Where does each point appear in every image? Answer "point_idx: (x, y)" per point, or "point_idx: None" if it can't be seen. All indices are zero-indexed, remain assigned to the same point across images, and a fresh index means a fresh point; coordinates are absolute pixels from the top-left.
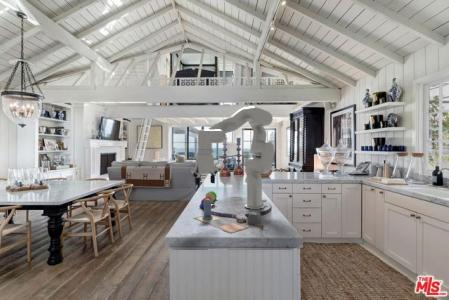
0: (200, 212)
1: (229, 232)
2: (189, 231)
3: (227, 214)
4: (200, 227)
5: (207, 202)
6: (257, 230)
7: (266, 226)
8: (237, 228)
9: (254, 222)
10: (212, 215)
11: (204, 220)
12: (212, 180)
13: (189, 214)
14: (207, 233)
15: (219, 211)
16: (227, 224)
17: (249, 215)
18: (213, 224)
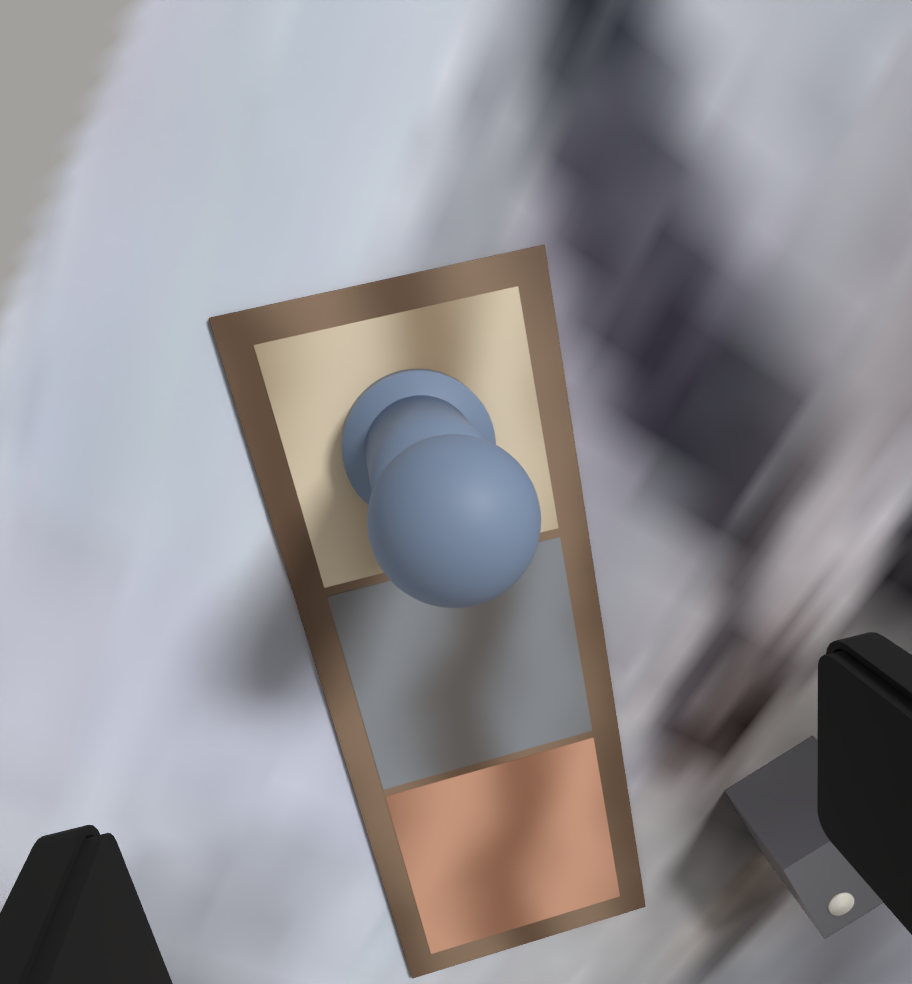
0: (464, 18)
1: (411, 962)
2: (25, 798)
3: (752, 383)
4: (195, 724)
5: (427, 603)
6: (660, 977)
7: (792, 920)
8: (536, 898)
9: (762, 851)
10: (545, 337)
11: (338, 513)
12: (895, 845)
13: (236, 30)
14: (204, 910)
15: (755, 158)
16: (516, 763)
17: (781, 868)
18: (376, 705)
